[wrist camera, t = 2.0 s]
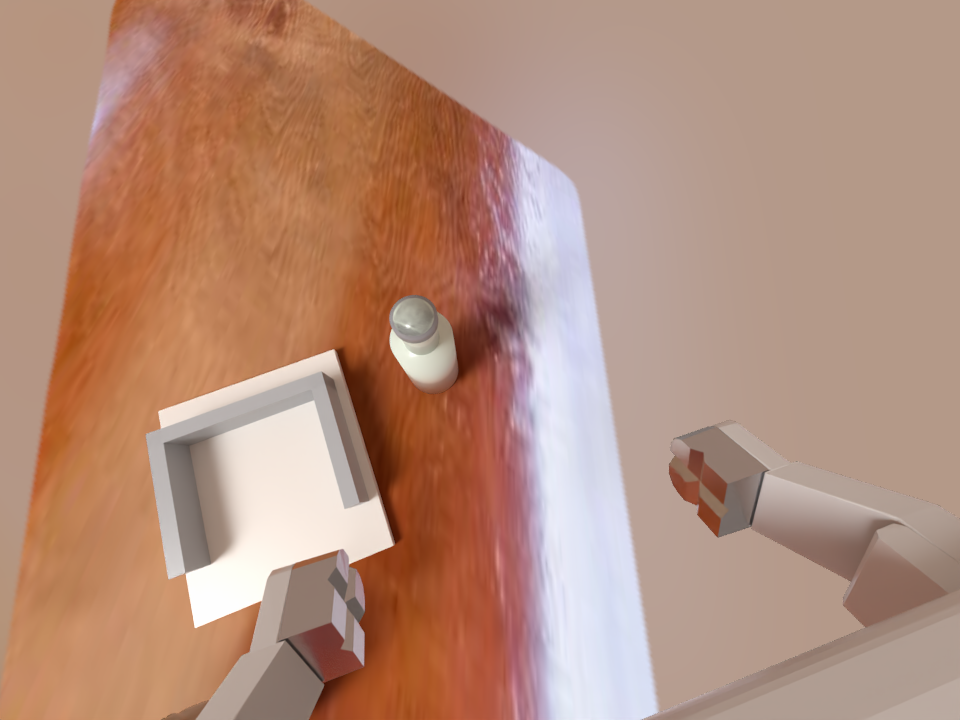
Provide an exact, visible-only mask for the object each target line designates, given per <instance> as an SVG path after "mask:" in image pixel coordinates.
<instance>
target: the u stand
mask: <svg viewBox="0 0 960 720" xmlns="http://www.w3.org/2000/svg"><path fill="white" fill-rule="evenodd" d="M158 412H159V418H160V424H161V429H159V430H156V431H153V432H150V433H148V434H146V440H147V446H148V453H149V459H150V465H151V472H152V478H153V484H154V491H155V497H156V503H157V510H158V516H159V522H160V529H161V535H162V541H163V548H164V554H165V560H166V567H167V573H168V580H169V579H172V578H175V577H178V576H181V575H184V574H186V578H187V584H188V590H189V596H190V602H191V607H192V613H193V619H194V625H195V628H197V627H199V626H201V625H204V624H206V623H209V622H211V621H213V620H216V619H218V618H221V617H223V616H225V615H228V614H230V613H233V612H235V611H237V610H240V609H242V608H245V607H247V606H249V605H252V604H254V603H257V602H259V601H261V600H262V598H263V594H264V590H265V586H266V582H267V578H268V577H269V575H270V573H271V572H272V570H275V569H278V568H281V567H284V566H288V565H291V564H294V563H297V562H300V561H303V560H307V559H310V558H313V557H317V556H320V555H323V554H327V553H330V552H333V551H337V550H340V549H344V551H345V552H346V554H347V555H348V557H349V564H350V563H353V562H355V561H358V560H360V559H362V558H365V557H367V556H370V555H372V554H374V553H377V552H379V551H382V550H384V549H386V548H389V547H391V546H394V545H395V541H394V538H393V535H392V531H391V528H390V525H389V521H388V518H387V515H386V512H385V508H384V505H383V502H382V499H381V495H380V492H379V489H378V485H377V482H376V479H375V476H374V472H373V469H372V466H371V462H370V459H369V456H368V453H367V449H366V446H365V443H364V440H363V436H362V433H361V430H360V426H359V423H358V420H357V417H356V413H355V410H354V407H353V403H352V400H351V397H350V394H349V390H348V387H347V384H346V381H345V377H344V374H343V371H342V367H341V364H340V361H339V358H338V354H337V352H336V351H335V350H334V349H333V350H330V351H328V352H325V353H322V354H319V355H316V356H313V357H311V358H308V359H305V360H302V361H299V362H296V363H294V364H291V365H288V366H285V367H282V368H279V369H277V370H274V371H271V372H268V373H265V374H262V375H260V376H257V377H254V378H251V379H248V380H245V381H243V382H240V383H237V384H234V385H231V386H228V387H226V388H223V389H220V390H217V391H214V392H211V393H209V394H206V395H203V396H200V397H197V398H195V399H192V400H189V401H186V402H183V403H180V404H178V405H175V406H172V407H169V408H166V409H163V410H161V411H158Z"/></svg>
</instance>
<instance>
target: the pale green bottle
mask: <svg viewBox="0 0 960 720" xmlns="http://www.w3.org/2000/svg"><path fill="white" fill-rule="evenodd" d="M390 324H391V327H392V330H391V334H390V346H391V349H392V352H393V354H394V355H395V357H396V358H397V360H398V361H399V363H400V364H401V366H402V367H403V369H404V370H405V372H406V373H407V375H408V377H409V378H410V380H411V381H412V383H413V384H414V385H415V387H417V388H418V389H419V390H420V391H422V392H425V393H428V394H438V393H442V392H444V391H446V390H448V389H449V388H450V387H451V386H452V385H453V384H454V383H455V381H456V379H457V376H458V362H457V356H456V349H455V343H454V336H453V331H452V327H451V325H450V323H449V322H448V320H447V319H446V318H445V317H444V316H443V315H441V314H440V313H438V312H437V311H436V308H435V306H434V304H433V303H432V302H431V301H430V300H428V299H427V298H425V297H422V296H419V295H410V296H406V297H404V298H402V299H400V300H399V301H397V302H396V303H395V305H394V306H393V308H392V310H391V312H390Z"/></svg>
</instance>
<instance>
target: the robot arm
mask: <svg viewBox="0 0 960 720" xmlns="http://www.w3.org/2000/svg"><path fill="white" fill-rule="evenodd" d="M670 450H671V452H672V453H673V454H674V455H675V456H674V458H673V459H672V461H671V462H670V463H669V475H670V478H671V480H672V483H673V485H674V487H675V488H676V490H677V492H678V493H679V494H680V495H681V497H682V498H683V499H684V500H685V501H688V502H690V503H692V504H695V505H697V515H698V516H699V517H700V518H701V519H702V521H703V522H704V523H705V524H706V525H707V526H708V527H709V528H710V530H711V531H712V532H713V533H714V534H715V535H716V536H717V537H721V536H724V535H727V534H730V533H734V532H737V531H740V530H742V529H745V528H749V527H751V529H753V530H754V531H756V532H758V533H760V534H762V535H764V536H766V537H768V538H770V539H772V540H773V541H775V542H777V543H779V544H781V545H783V546H785V547H787V548H789V549H791V550H792V551H794V552H796V553H798V554H800V555H802V556H804V557H806V558H807V559H809V560H811V561H813V562H815V563H817V564H819V565H821V566H823V567H825V568H826V569H828V570H830V571H832V572H834V573H836V574H838V575H840V576H842V577H844V578H845V579H847V580H849V581H851V583H850V585H849V587H848V589H847V591H846V593H845V595H844V597H843V606H844V607H846V608H847V610H848V611H849V612H851V614H853V615H854V617H855V618H856V619H858V621H859V622H861V623H862V624H863V625H864V626H865V627H866V628H863V629H861V630H859V631H856V632H854V633H851V634H849V635H846V636H844V637H841V638H839V639H837V640H834V641H832V642H829V643H827V644H824V645H822V646H820V647H817V648H815V649H813V650H810V651H807V652H805V653H802V654H800V655H798V656H795V657H793V658H790V659H788V660H785V661H783V662H781V663H778V664H776V665H773V666H771V667H769V668H766V669H764V670H761V671H759V672H757V673H754V674H752V675H749V676H747V677H744V678H742V679H739V680H737V681H734V682H732V683H730V684H727V685H725V686H722V687H720V688H717V689H715V690H713V691H710V692H708V693H705V694H703V695H701V696H698V697H696V698H693V699H691V700H688V701H686V702H683V703H681V704H678V705H676V706H674V707H671V708H669V709H666V710H664V711H661V712H659V713H657V714H654V715H652V716H649V717H647V718H644V719H642V720H960V518H958V517H956V516H955V515H953V514H952V513H950V512H949V511H947V510H945V509H944V508H942V507H941V506H939V505H937V504H933V503H930V502H927V501H924V500H921V499H917V498H914V497H911V496H908V495H904V494H901V493H898V492H895V491H891V490H888V489H885V488H882V487H878V486H875V485H872V484H869V483H866V482H862V481H859V480H856V479H852V478H849V477H846V476H843V475H840V474H837V473H833V472H830V471H827V470H823V469H820V468H817V467H814V466H811V465H807V464H804V463H801V462H798V461H796V462H793V463H790V462H789V461H788V460H786V459H785V458H784V457H782V456H781V455H780V454H778V453H777V452H776V451H774V450H773V449H772V448H770V447H769V446H768V445H767V444H765V443H764V442H762V441H761V440H760V439H759V438H757V437H756V436H755V435H753V434H752V433H751V432H749V431H748V430H746V429H745V428H744V427H743V426H741V425H740V424H739V423H737V422H735V421H732V420H728V421H725V422H722V423H719V424H716V425H713V426H710V427H706V428H703V429H700V430H697V431H694V432H691V433H688V434H686V435H683V436H680V437H677V438H674V439H673V441H672V442H671V448H670ZM364 613H365V597H364V590H363V584H362V581H361V578H360V575H359V574H358V572H357V570H356V569H354V568H351V567H349V557H348V555H347V554H346V552H345V551H344V549H340V550H337V551H333V552H330V553H327V554H323V555H320V556H317V557H313V558H310V559H307V560H303V561H300V562H297V563H294V564H291V565H288V566H284V567H281V568H278V569H275V570H272V572H271V573H270V575H269V577H268V578H267V582H266V586H265V590H264V594H263V598H262V602H261V607H260V611H259V615H258V619H257V623H256V627H255V632H254V636H253V640H252V644H251V648H250V652H249V653H247V654H244V655H242V656H241V657H240V659H239V660H238V661H237V663H236V664H235V666H234V667H233V668H232V670H231V671H230V672H229V674H228V675H227V677H226V678H225V679H224V681H223V682H222V684H221V685H220V686H219V688H218V689H217V690H216V692H215V693H214V695H213V696H212V697H211V699H210V700H209V702H208V703H207V704H206V706H205V707H204V708H203V710H202V711H201V713H200V714H199V715H198V717H197V718H196V720H309V718H310V716H311V714H312V711H313V709H314V707H315V705H316V703H317V700H318V698H319V696H320V694H321V692H322V690H323V687H324V684H323V683H324V682H327V681H329V680H332V679H334V678H337V677H339V676H342V675H344V674H347V673H349V672H352V671H354V670H357V669H360V668H362V667H364V638H365V633H364V631H363V630H362V628H361V627H360V625H359V624H358V623H359V622H360V620H361V618H362V616H363V614H364Z"/></svg>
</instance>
